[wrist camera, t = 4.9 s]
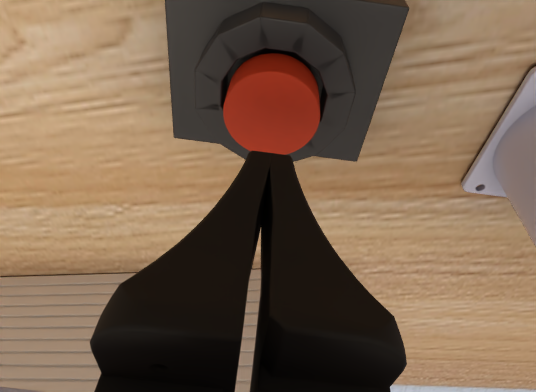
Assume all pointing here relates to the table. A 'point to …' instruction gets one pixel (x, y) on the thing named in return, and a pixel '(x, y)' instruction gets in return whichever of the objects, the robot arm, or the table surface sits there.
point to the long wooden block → (76, 330)
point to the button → (272, 104)
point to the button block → (288, 43)
